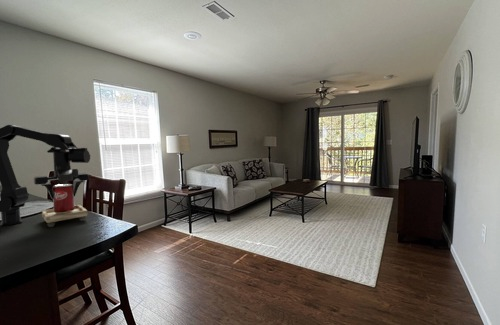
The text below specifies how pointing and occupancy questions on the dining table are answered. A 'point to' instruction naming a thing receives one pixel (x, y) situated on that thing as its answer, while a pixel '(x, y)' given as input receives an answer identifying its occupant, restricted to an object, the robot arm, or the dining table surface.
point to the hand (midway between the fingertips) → (63, 197)
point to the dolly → (64, 215)
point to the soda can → (63, 198)
